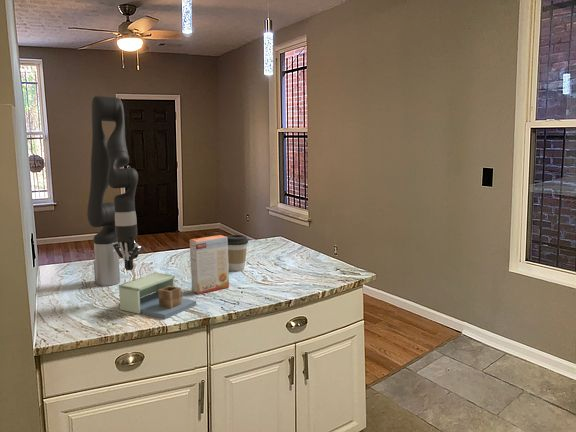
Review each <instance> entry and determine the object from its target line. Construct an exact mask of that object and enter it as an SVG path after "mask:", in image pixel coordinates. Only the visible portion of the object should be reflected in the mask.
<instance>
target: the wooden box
mask: <svg viewBox="0 0 576 432" xmlns="http://www.w3.org/2000/svg"><path fill="white" fill-rule="evenodd" d="M158 291H159V306H160V307H165V308H169V309H172V308H174V307H176V306H179V305H181V298H182V288H181V287H177V286H175V287H174V286H167V287H164V288H162V289H159V290H158Z"/></svg>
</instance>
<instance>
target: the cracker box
mask: <svg viewBox="0 0 576 432" xmlns="http://www.w3.org/2000/svg"><path fill="white" fill-rule="evenodd" d="M189 253H190V254H189V255H190V256H189V257H190V258H189V259H190V274H191V275H190V276H191V277H190V279H191V291H193V292H194V293H196V294H197V295H200V294H205V293H209V292H214V291H218V290H223V289H227V288H230V276H229V275H230V274H229V273H230V272H229V271H230V270H229V268H228V239H227V237H226V236H224V235H222V234H217V235H212V236H205V237H198V238H191V239H189Z"/></svg>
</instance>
